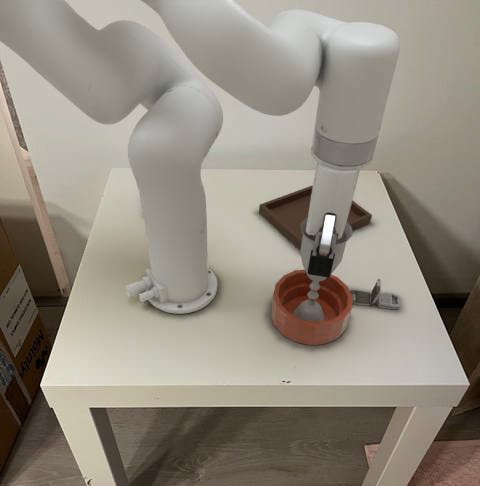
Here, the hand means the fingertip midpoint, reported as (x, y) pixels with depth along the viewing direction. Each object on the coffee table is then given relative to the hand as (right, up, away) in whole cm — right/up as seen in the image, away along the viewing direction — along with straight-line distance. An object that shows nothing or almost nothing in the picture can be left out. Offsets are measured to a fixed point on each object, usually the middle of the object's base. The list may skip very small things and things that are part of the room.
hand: (321, 253), depth 71 cm
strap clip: (+11, -7, +13) cm, 19 cm away
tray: (+3, +11, +29) cm, 31 cm away
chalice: (0, -9, +10) cm, 14 cm away
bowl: (0, -9, +10) cm, 14 cm away
